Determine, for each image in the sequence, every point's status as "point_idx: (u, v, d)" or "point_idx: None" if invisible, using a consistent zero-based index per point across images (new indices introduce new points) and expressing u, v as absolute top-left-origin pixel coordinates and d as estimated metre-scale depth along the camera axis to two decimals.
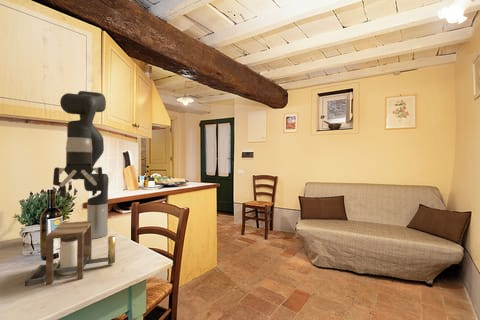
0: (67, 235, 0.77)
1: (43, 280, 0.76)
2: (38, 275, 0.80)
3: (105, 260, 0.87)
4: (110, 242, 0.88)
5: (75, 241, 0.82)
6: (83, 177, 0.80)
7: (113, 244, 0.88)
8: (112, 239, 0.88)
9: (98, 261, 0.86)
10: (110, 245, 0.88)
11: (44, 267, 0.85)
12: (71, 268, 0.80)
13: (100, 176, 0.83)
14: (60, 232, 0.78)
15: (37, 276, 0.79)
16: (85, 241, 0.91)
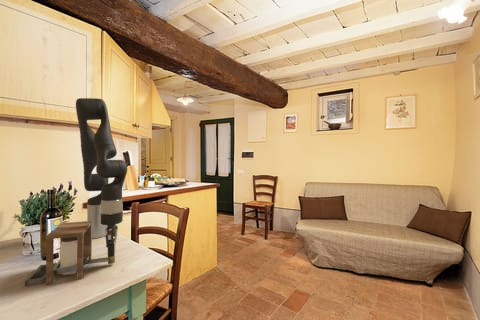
0: (67, 235, 0.77)
1: (43, 280, 0.76)
2: (38, 275, 0.80)
3: (105, 260, 0.87)
4: None
5: (75, 241, 0.82)
6: None
7: None
8: None
9: (98, 261, 0.86)
10: None
11: (44, 267, 0.85)
12: (71, 268, 0.80)
13: None
14: (60, 232, 0.78)
15: (37, 276, 0.79)
16: (85, 241, 0.91)
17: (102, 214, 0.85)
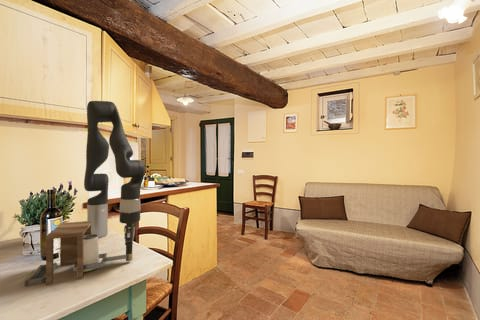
0: (67, 235, 0.77)
1: (43, 280, 0.76)
2: (38, 275, 0.80)
3: (123, 257, 0.90)
4: None
5: (94, 238, 0.85)
6: None
7: None
8: None
9: (116, 258, 0.89)
10: None
11: (44, 267, 0.85)
12: (92, 265, 0.82)
13: None
14: (60, 232, 0.78)
15: (37, 276, 0.79)
16: None
17: (121, 213, 0.88)
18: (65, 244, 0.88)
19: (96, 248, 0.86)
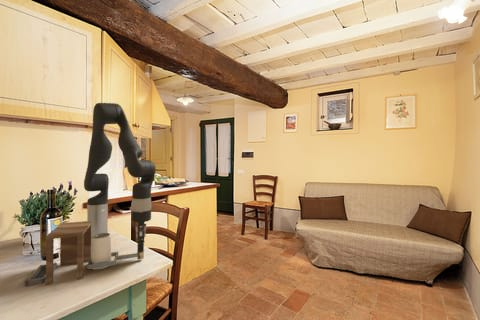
0: (67, 235, 0.77)
1: (43, 280, 0.76)
2: (38, 275, 0.80)
3: (135, 256, 0.91)
4: None
5: (106, 237, 0.87)
6: None
7: None
8: None
9: (128, 257, 0.90)
10: None
11: (44, 267, 0.85)
12: (105, 263, 0.84)
13: None
14: (60, 232, 0.78)
15: (37, 276, 0.79)
16: (85, 241, 0.91)
17: (133, 212, 0.89)
18: (65, 244, 0.88)
19: (109, 246, 0.87)
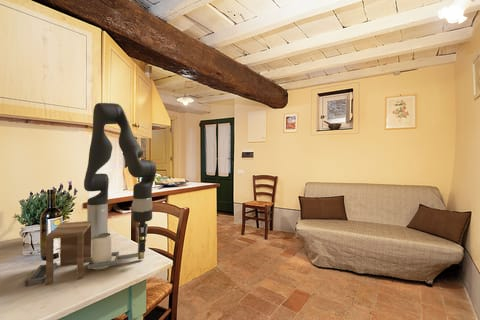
0: (67, 235, 0.77)
1: (43, 280, 0.76)
2: (38, 275, 0.80)
3: (135, 256, 0.91)
4: (140, 238, 0.92)
5: (107, 237, 0.87)
6: None
7: None
8: None
9: (129, 257, 0.91)
10: None
11: (44, 267, 0.85)
12: (106, 263, 0.84)
13: None
14: (60, 232, 0.78)
15: (37, 276, 0.79)
16: (85, 241, 0.91)
17: (134, 212, 0.90)
18: (65, 244, 0.88)
19: (109, 246, 0.87)
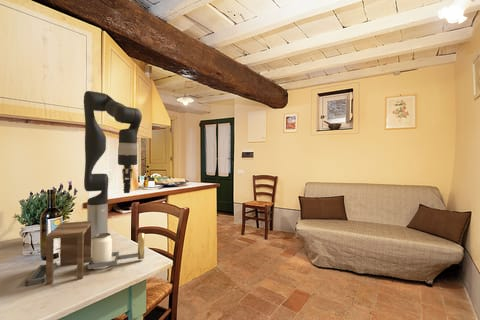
0: (67, 235, 0.77)
1: (43, 280, 0.76)
2: (38, 275, 0.80)
3: (135, 256, 0.91)
4: (140, 238, 0.92)
5: (107, 237, 0.87)
6: None
7: (143, 240, 0.92)
8: (142, 236, 0.92)
9: (129, 257, 0.91)
10: (140, 242, 0.92)
11: (44, 267, 0.85)
12: (106, 263, 0.84)
13: None
14: (60, 232, 0.78)
15: (37, 276, 0.79)
16: (85, 241, 0.91)
17: (120, 155, 0.94)
18: (65, 244, 0.88)
19: (109, 246, 0.87)
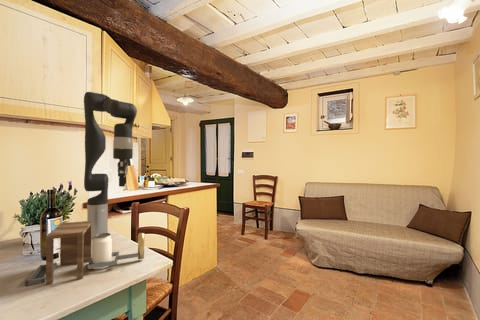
0: (67, 235, 0.77)
1: (43, 280, 0.76)
2: (38, 275, 0.80)
3: (135, 256, 0.91)
4: (140, 238, 0.92)
5: (107, 237, 0.87)
6: None
7: (143, 240, 0.92)
8: (142, 236, 0.92)
9: (129, 257, 0.91)
10: (140, 242, 0.92)
11: (44, 267, 0.85)
12: (106, 263, 0.84)
13: None
14: (60, 232, 0.78)
15: (37, 276, 0.79)
16: (85, 241, 0.91)
17: (115, 149, 0.95)
18: (65, 244, 0.88)
19: (109, 246, 0.87)
